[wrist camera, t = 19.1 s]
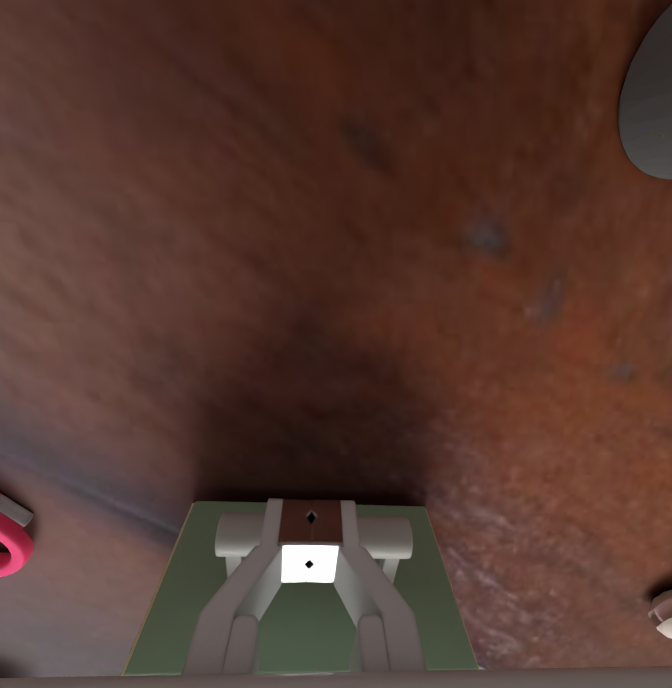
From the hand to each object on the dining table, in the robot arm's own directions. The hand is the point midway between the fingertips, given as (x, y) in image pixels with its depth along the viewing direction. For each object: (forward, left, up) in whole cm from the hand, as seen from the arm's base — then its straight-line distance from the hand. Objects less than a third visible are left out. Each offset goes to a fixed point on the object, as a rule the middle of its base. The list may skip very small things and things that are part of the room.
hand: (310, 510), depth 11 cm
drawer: (0, +10, -4) cm, 11 cm away
